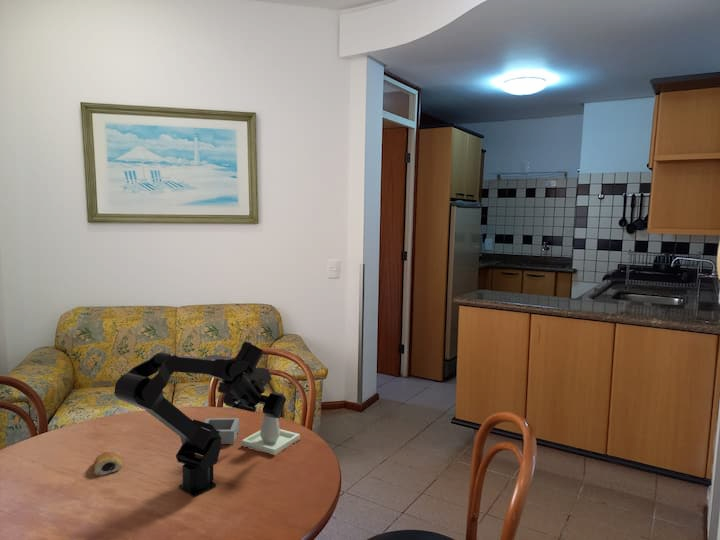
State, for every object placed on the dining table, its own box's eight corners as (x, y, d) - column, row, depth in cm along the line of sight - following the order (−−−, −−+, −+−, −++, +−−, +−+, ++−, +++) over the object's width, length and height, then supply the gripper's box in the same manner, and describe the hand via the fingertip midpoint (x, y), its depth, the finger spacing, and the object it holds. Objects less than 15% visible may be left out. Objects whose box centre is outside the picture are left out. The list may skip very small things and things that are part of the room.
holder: (233, 444, 142) (233, 431, 142) (198, 445, 141) (198, 431, 141) (239, 430, 152) (239, 417, 152) (206, 430, 151) (206, 418, 151)
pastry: (92, 462, 130) (92, 448, 130) (120, 456, 134) (120, 443, 133) (94, 478, 122) (94, 463, 122) (124, 471, 126) (123, 457, 125)
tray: (274, 456, 135) (274, 449, 135) (241, 446, 141) (241, 440, 141) (300, 440, 146) (300, 434, 145) (268, 431, 151) (268, 425, 151)
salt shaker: (261, 446, 139) (261, 402, 138) (258, 438, 145) (258, 395, 143) (281, 443, 141) (282, 400, 140) (278, 435, 147) (278, 394, 145)
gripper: (282, 366, 130) (305, 394, 141) (230, 356, 139) (255, 383, 150) (263, 403, 124) (288, 430, 135) (209, 390, 133) (237, 416, 143)
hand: (267, 413), depth 141 cm, fingers open, 9 cm apart
